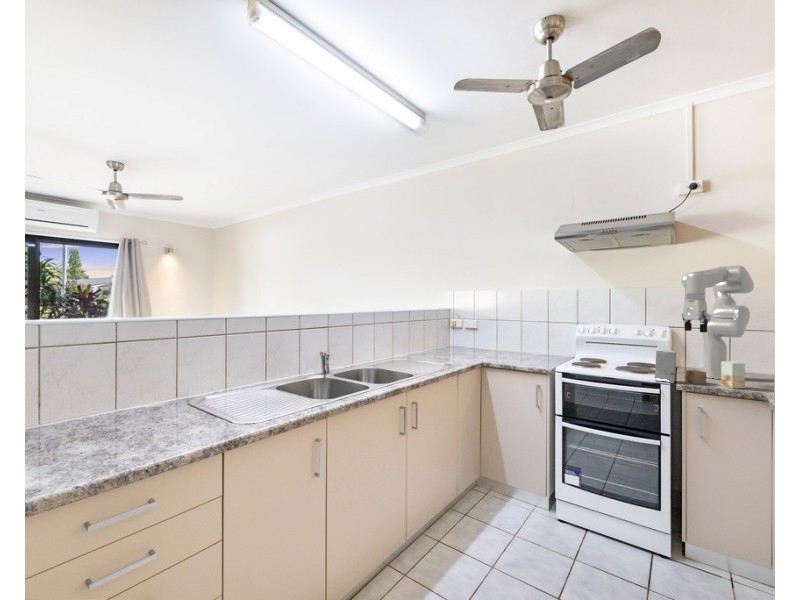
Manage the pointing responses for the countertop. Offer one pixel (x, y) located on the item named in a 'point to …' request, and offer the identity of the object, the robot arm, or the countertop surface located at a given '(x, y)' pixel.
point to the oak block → (733, 381)
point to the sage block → (732, 368)
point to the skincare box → (665, 365)
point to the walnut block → (695, 376)
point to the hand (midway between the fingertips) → (695, 331)
